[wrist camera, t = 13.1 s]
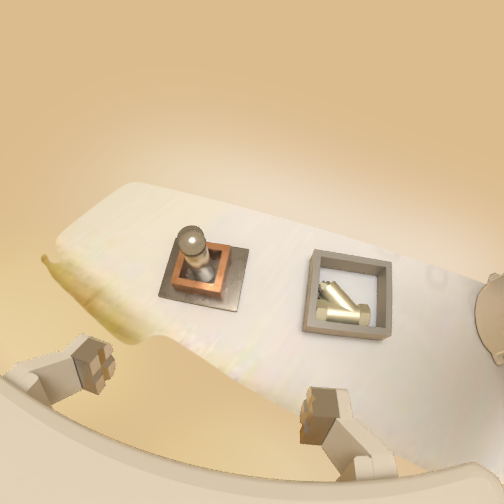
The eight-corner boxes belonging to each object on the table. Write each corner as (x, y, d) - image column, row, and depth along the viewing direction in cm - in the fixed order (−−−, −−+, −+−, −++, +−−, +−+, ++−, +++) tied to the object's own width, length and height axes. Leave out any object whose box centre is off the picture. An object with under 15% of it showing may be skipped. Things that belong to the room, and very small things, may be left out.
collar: (248, 250, 46) (248, 239, 43) (236, 312, 41) (235, 305, 38) (176, 239, 47) (171, 228, 43) (159, 296, 42) (152, 288, 39)
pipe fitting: (313, 285, 44) (310, 327, 41) (318, 274, 41) (315, 319, 37) (361, 291, 44) (361, 332, 40) (370, 281, 40) (371, 324, 37)
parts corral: (382, 271, 44) (391, 262, 41) (381, 339, 39) (391, 335, 36) (310, 259, 45) (314, 249, 42) (302, 331, 40) (306, 326, 37)
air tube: (216, 264, 44) (206, 227, 34) (212, 284, 43) (200, 251, 33) (196, 260, 44) (180, 223, 34) (191, 280, 43) (173, 247, 33)
